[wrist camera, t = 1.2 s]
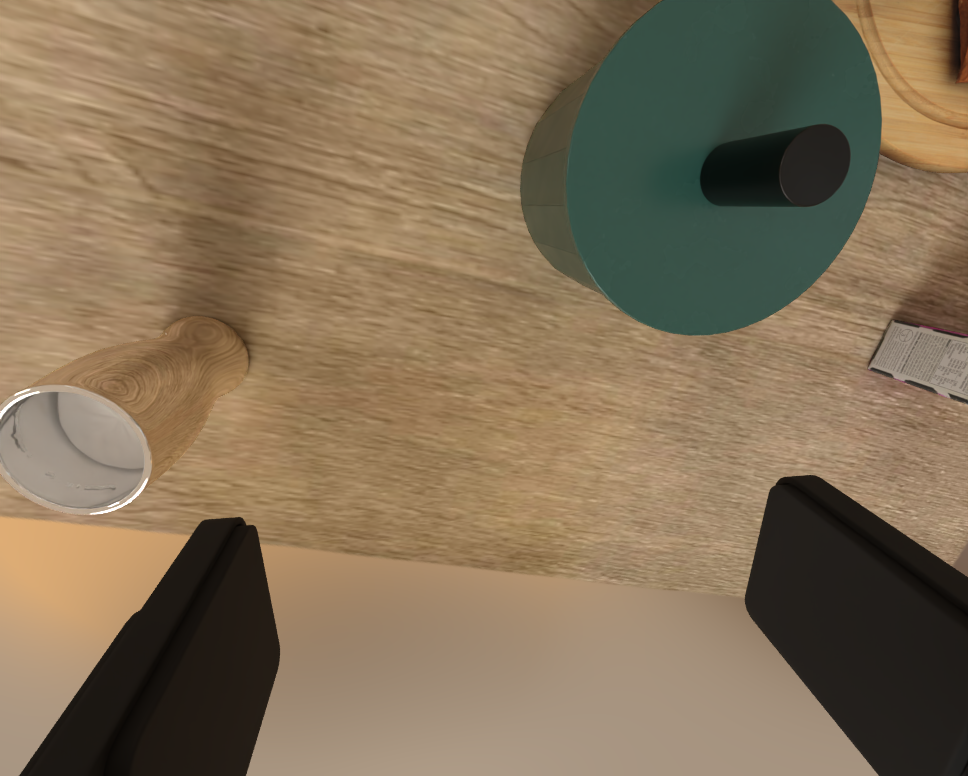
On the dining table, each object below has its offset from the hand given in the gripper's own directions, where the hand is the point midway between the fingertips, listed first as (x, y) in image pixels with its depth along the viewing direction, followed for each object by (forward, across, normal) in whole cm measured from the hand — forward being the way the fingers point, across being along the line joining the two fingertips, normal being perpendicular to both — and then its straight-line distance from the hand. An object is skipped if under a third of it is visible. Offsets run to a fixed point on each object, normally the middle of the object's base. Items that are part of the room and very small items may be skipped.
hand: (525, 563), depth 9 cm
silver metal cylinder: (+30, +18, +4) cm, 35 cm away
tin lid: (+17, -13, -7) cm, 23 cm away
